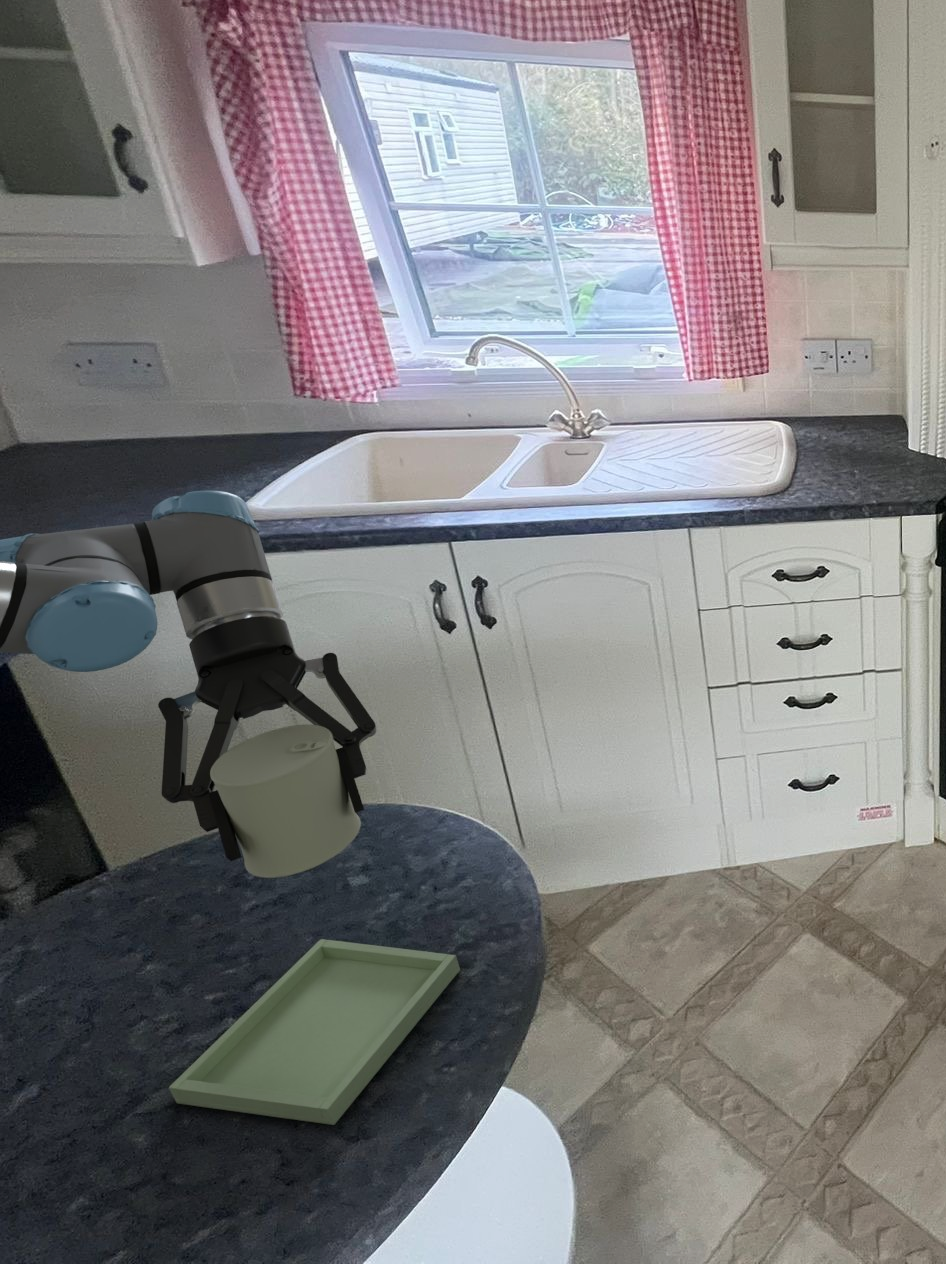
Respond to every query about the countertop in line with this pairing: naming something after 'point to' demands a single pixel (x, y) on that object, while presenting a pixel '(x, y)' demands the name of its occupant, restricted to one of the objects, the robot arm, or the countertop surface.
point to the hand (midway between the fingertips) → (299, 832)
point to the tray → (318, 1032)
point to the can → (286, 800)
